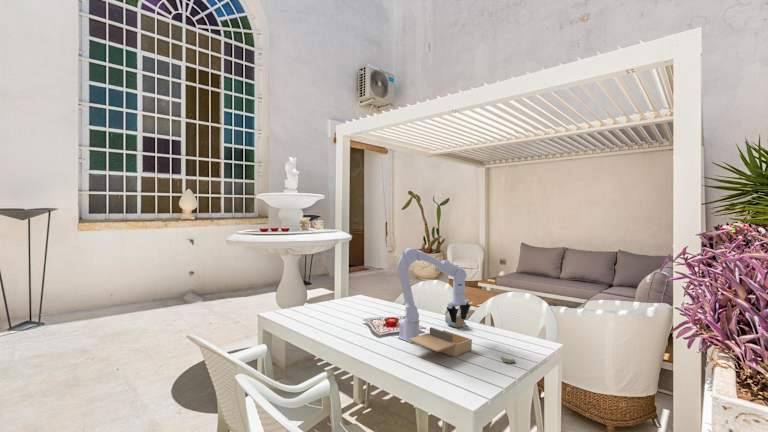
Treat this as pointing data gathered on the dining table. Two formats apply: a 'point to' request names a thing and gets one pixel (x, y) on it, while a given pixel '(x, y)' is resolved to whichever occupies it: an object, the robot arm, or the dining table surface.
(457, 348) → the carton
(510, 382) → the dining table surface
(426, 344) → the carton lid
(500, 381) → the dining table surface
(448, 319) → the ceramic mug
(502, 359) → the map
